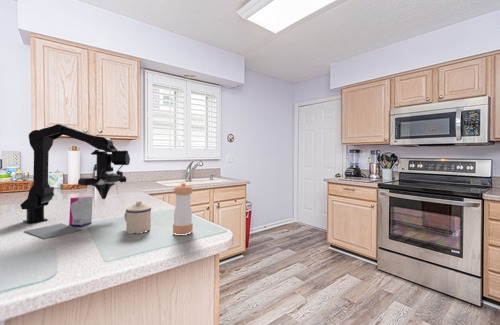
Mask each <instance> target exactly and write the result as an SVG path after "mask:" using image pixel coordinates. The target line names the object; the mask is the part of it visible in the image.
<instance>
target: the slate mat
mask: <svg viewBox="0 0 500 325" xmlns="http://www.w3.org/2000/svg"><path fill="white" fill-rule="evenodd" d="M82 230H83V229H82V228H79V227H77V226H69V224H64V223H56V224H51V225H46V226H42V227H37V228H36V227H35V228H32V229H26V230H24V231H23V232H24V233H27V234H29V235H32V236H35V237H37V238H39V239H42V240H45V239H46V240H47V239H50V238H55V237H60V236H62V235H67V234H71V233H76V232H79V231H82Z"/></svg>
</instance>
